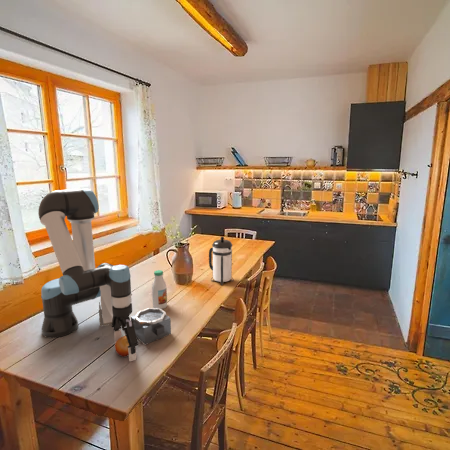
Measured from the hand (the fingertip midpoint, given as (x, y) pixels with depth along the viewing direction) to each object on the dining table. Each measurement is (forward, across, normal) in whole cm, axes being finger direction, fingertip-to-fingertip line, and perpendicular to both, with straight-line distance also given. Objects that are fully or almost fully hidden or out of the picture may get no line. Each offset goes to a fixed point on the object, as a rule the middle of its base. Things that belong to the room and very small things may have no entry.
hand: (125, 352), depth 129 cm
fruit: (+1, 0, 0) cm, 1 cm away
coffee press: (+1, +34, -80) cm, 87 cm away
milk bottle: (+1, +28, -32) cm, 43 cm away
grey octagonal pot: (+1, +6, -16) cm, 17 cm away
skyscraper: (+1, +31, -5) cm, 32 cm away
